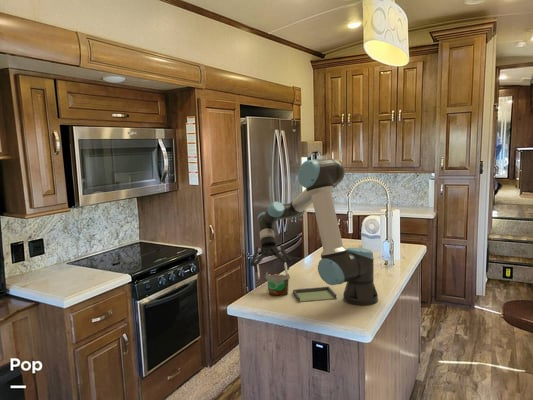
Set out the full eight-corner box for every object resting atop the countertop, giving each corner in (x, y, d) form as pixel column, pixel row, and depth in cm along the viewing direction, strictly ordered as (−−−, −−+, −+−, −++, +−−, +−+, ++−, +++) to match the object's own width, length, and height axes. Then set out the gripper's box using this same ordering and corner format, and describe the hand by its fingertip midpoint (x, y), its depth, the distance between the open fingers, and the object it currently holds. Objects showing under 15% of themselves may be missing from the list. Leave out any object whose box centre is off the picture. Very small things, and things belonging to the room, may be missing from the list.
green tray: (336, 298, 186) (336, 294, 186) (297, 302, 184) (297, 298, 183) (329, 290, 198) (329, 286, 197) (292, 293, 195) (292, 289, 195)
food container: (261, 295, 194) (260, 275, 193) (267, 291, 200) (266, 271, 199) (285, 298, 189) (284, 277, 188) (290, 294, 194) (289, 274, 193)
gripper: (291, 241, 214) (297, 278, 201) (243, 245, 211) (247, 282, 198) (292, 233, 208) (299, 270, 195) (243, 237, 205) (247, 275, 192)
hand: (273, 276), depth 196 cm, fingers open, 13 cm apart
